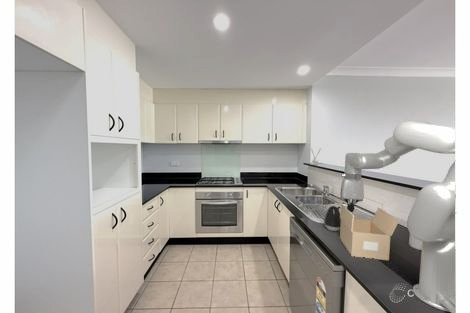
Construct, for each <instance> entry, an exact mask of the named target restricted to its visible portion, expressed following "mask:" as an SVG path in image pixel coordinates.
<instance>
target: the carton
mask: <svg viewBox="0 0 470 313" xmlns="http://www.w3.org/2000/svg"><path fill="white" fill-rule="evenodd" d="M339 232H340V233H339V239H340V240H341V242H342V244H343V245H344V247H345V249H346V250H347V252H348V253H349V255H350V254H351V255H350V256H351V257H354V256H355V257H356V258H363V257H365V259H372V258H374V260H382V261H389V260H390V247H391V235H389V234H388V233H387V232H386V231H384V230H383V229H382V228H381V227H380V226H378V225H377V224H376V223H375V222H373V221H372V220H369V219H357V218H354V223H353V232H351V231H350V229H349V228H348V227H347V226H346V225H345V223H344V222H343V221H342V220H341V226H340V230H339Z"/></svg>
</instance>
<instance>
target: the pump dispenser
mask: <svg viewBox="0 0 470 313" xmlns="http://www.w3.org/2000/svg"><path fill="white" fill-rule="evenodd" d="M340 210H341V206H335V205H331V206H330V207H329V208H328V209H327V211H326V213H325V217H324V222H323V223H324V226H325V228H326V229H327V230H329V231H330V232H339V231H340V226H341V218H340Z"/></svg>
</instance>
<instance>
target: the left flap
mask: <svg viewBox="0 0 470 313" xmlns="http://www.w3.org/2000/svg"><path fill="white" fill-rule="evenodd" d="M339 212H340V218H341V220H342V221H343V222H344V223H345V225H346V226H347V227H348V228H349V229H350V231H351V232H353V223H354V219H355V215H354V214H353V212H350V211H349V210H348V209H347V206H345V205H344V204H343V203H341V204H340V210H339Z"/></svg>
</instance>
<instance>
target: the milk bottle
mask: <svg viewBox="0 0 470 313" xmlns="http://www.w3.org/2000/svg"><path fill="white" fill-rule="evenodd" d="M422 243H423V241H420V240H418V239H416V238H415V237H413V236H412V235H411V233H410V232H409V239H408V244H409V246H410V247H411V248H412V249H416V250H419V251H422Z"/></svg>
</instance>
